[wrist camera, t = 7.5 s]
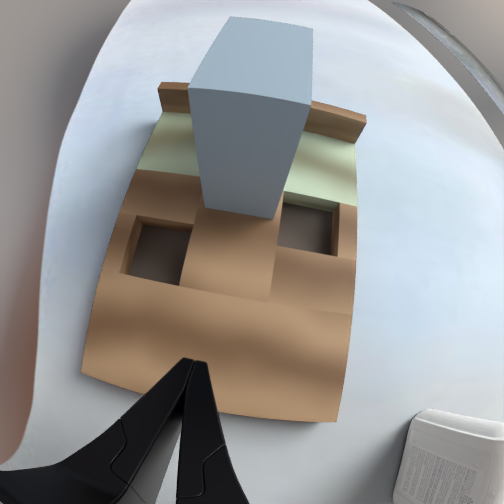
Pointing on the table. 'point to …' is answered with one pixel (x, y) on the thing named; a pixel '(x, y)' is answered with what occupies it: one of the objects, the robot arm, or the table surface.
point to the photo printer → (451, 461)
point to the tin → (250, 112)
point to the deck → (233, 275)
